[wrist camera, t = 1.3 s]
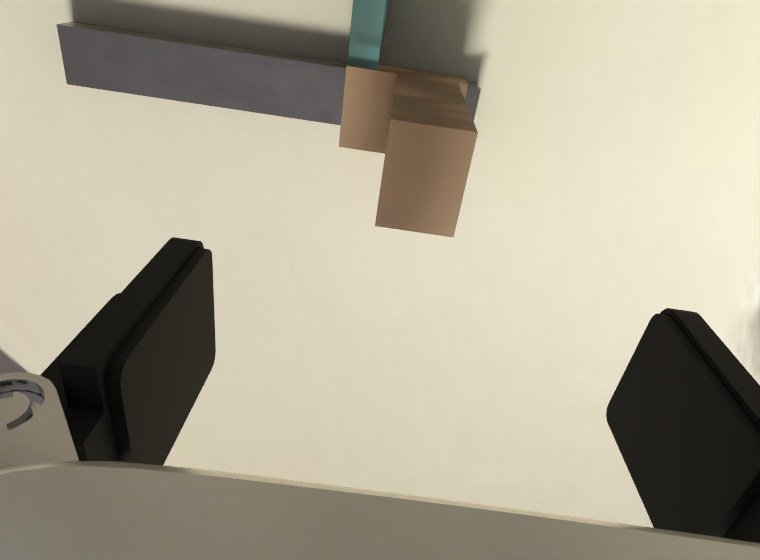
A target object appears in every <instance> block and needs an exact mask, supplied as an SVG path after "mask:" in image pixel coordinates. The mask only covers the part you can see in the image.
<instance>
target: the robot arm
mask: <svg viewBox="0 0 760 560" xmlns="http://www.w3.org/2000/svg"><path fill="white" fill-rule="evenodd" d="M215 352H216V349H215V321H214V294H213V267H212V253H211V251H210V250H209V249H204V247H203V244H202V242H201V241H195V240H188V239H181V238H171V239H170V240H169V241H168V242H167V243H166V244H165V245H164V246H163V247H162V248H161V250H160V251H159V252H158V253H157V254H156V255H155V256H154V257H153V258H152V259H151V261H150V262H149V263H148V264H147V265H146V266H145V267H144V268H143V269H142V270H141V272H140V273H139V274H138V275H137V276H136V277H135V278H134V279H133V280H132V281H131V283H130V284H129V285H128V286H127V287H126V288H125V289H124V290H123V291H122V292H121V293H119V294H116V295H115V296H114V297H112V298H111V299H110V300H109V301H108V303H107V304H106V305H105V306H104V307H103V308H102V309H101V310H100V311H99V312H98V313H97V314H96V316H95V317H94V318H93V319H92V320H91V321H90V322H89V323H88V324H87V325H86V326H85V327H84V329H83V330H82V331H81V332H80V333H79V334H78V335H77V336H76V337H75V338H74V339H73V340H72V342H71V343H70V344H69V345H68V346H67V347H66V348H65V349H64V350H63V351H62V352H61V353H60V355H59V356H58V357H57V358H56V359H55V360H54V361H53V362H52V363H51V364H50V365H49V366H48V368H47V369H46V370H45V371H44V372H43V373H42V374H41V375H36V374H31V373H8V374H2V375H0V560H760V385H759V384H758V383H757V382H756V381H755V379H754V378H753V377H752V376H751V375H750V374H749V372H748V371H747V370H746V369H745V368H744V367H743V365H742V364H741V363H740V362H739V361H738V359H737V358H736V357H735V356H734V355H733V354H732V352H731V351H730V350H729V349H728V348H727V347H726V345H725V344H724V343H723V342H722V341H721V339H720V338H719V337H718V336H717V335H716V334H715V332H714V331H713V330H712V329H711V328H710V327H709V325H708V324H707V323H706V322H705V321H704V319H703V318H702V317H701V316H700V315H699V314H698V313H696V312H691V311H684V310H677V309H670V308H667V309H664V310H663V311H662V312H661V313H660V314H655V315H654V316H653V317H652V318H651V320H650V322H649V324H648V326H647V328H646V330H645V332H644V334H643V336H642V338H641V340H640V342H639V344H638V346H637V348H636V350H635V352H634V354H633V356H632V358H631V360H630V362H629V364H628V366H627V368H626V370H625V372H624V374H623V376H622V378H621V380H620V382H619V384H618V386H617V388H616V390H615V392H614V394H613V396H612V398H611V400H610V402H609V404H608V407H607V412H606V416H607V422H608V424H609V427H610V429H611V431H612V434H613V436H614V438H615V440H616V443H617V445H618V447H619V449H620V452H621V454H622V456H623V459H624V461H625V463H626V465H627V468H628V470H629V472H630V474H631V477H632V479H633V481H634V484H635V486H636V488H637V490H638V493H639V495H640V497H641V499H642V502H643V504H644V506H645V508H646V511H647V513H648V515H649V518H650V520H651V522H652V524H653V527H654V528H650V527H642V526H635V525H628V524H621V523H613V522H606V521H599V520H592V519H584V518H577V517H570V516H562V515H555V514H547V513H540V512H532V511H525V510H517V509H510V508H502V507H495V506H487V505H480V504H472V503H464V502H457V501H449V500H442V499H434V498H426V497H419V496H411V495H404V494H396V493H388V492H380V491H372V490H364V489H356V488H348V487H340V486H333V485H325V484H317V483H309V482H301V481H293V480H285V479H277V478H269V477H261V476H253V475H245V474H236V473H228V472H219V471H211V470H202V469H193V468H184V467H173V466H163V464H164V462H165V460H166V458H167V456H168V454H169V452H170V451H171V449H172V447H173V445H174V443H175V441H176V439H177V437H178V435H179V433H180V431H181V429H182V427H183V425H184V423H185V421H186V419H187V417H188V415H189V413H190V411H191V409H192V407H193V405H194V403H195V401H196V399H197V397H198V395H199V393H200V391H201V389H202V387H203V385H204V383H205V381H206V379H207V377H208V375H209V373H210V371H211V369H212V367H213V364H214V360H215Z"/></svg>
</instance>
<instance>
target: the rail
mask: <svg viewBox="0 0 760 560" xmlns="http://www.w3.org/2000/svg"><path fill="white" fill-rule="evenodd" d="M57 29H58V34H59V40H60V46H61V52H62V57H63V63H64V69H65V75H66V81H67V84H70V85H76V86H83V87H90V88H96V89H103V90H110V91H116V92H123V93H130V94H136V95H143V96H149V97H156V98H163V99H169V100H176V101H183V102H189V103H196V104H203V105H209V106H216V107H223V108H229V109H236V110H243V111H249V112H256V113H263V114H269V115H276V116H283V117H289V118H296V119H303V120H309V121H316V122H323V123H329V124H336V125H341V119H342V108H343V98H344V87H345V76H346V66H347V64H345V63H339V62H332V61H325V60H319V59H312V58H306V57H299V56H293V55H286V54H280V53H273V52H267V51H260V50H253V49H247V48H240V47H234V46H227V45H221V44H214V43H208V42H201V41H195V40H188V39H181V38H175V37H168V36H162V35H155V34H149V33H142V32H136V31H129V30H123V29H116V28H109V27H103V26H96V25H90V24H83V23H77V22H69V23H63V24H57ZM467 83H468V87H467V92H466V97H465V102H466V104H467V107H468V109H469V112H470V114H471V117H472V119H473V120H474V116H475V112H476V107H477V103H478V98H479V94H480V87H479V85H478V84H476V83H469V82H467Z"/></svg>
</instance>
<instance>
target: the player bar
mask: <svg viewBox="0 0 760 560" xmlns="http://www.w3.org/2000/svg"><path fill="white" fill-rule="evenodd" d="M387 6H388V0H353V10H352V21H351V31H350V42H349V53H348V63H347V66H346V76H345V87H344V98H343V108H342V119H341V130H340V140H339V147H345V148H352V149H359V150H365V151H372V152H379V153H385V160H384V167H383V174H382V181H381V188H380V195H379V202H378V209H377V216H376V223H375V226H380V227H387V228H393V229H400V230H407V231H414V232H421V233H428V234H434V235H441V236H448V237H454V232H455V228H456V224H457V219H458V215H459V211H460V207H461V202H462V198H463V194H464V189H465V185H466V181H467V176H468V172H469V168H470V163H471V159H472V155H473V151H474V146H475V142H476V138H477V133H478V132H477V129H476V127H475V124H474V122H473V119H472V117H471V114H470V112H469V109H468V107H467V104H466V102H465V97H466V92H467V87H468V83H467V81H466V79H465V77H459V76H453V75H446V74H439V73H433V72H426V71H420V70H413V69H407V68H400V67H394V66H387V65H381V64H379V61H380V53H381V45H382V42H383V38H384V30H385V22H386V14H387Z"/></svg>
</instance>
